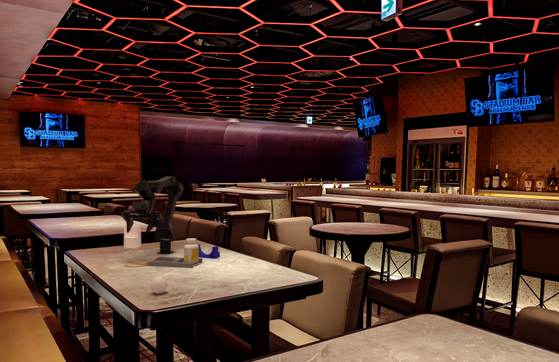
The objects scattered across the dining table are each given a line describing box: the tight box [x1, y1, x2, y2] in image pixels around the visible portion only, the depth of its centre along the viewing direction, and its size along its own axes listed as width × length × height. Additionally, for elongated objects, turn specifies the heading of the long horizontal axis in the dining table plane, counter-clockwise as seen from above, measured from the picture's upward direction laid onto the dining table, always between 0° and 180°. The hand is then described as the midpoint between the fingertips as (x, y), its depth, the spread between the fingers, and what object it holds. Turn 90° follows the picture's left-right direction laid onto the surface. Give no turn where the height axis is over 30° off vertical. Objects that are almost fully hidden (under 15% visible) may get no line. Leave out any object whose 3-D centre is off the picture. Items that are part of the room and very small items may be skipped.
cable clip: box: [196, 243, 221, 260], centre depth 197 cm, size 12×4×6 cm, turn 68°
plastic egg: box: [149, 276, 168, 295], centre depth 136 cm, size 8×6×6 cm
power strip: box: [147, 256, 203, 269], centre depth 181 cm, size 12×21×2 cm, turn 80°
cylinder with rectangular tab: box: [123, 225, 142, 249], centre depth 224 cm, size 9×9×12 cm
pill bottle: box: [183, 237, 200, 267], centre depth 179 cm, size 6×6×12 cm
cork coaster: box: [124, 260, 149, 268], centre depth 180 cm, size 11×11×1 cm
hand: (136, 232), depth 179 cm, fingers open, 9 cm apart
